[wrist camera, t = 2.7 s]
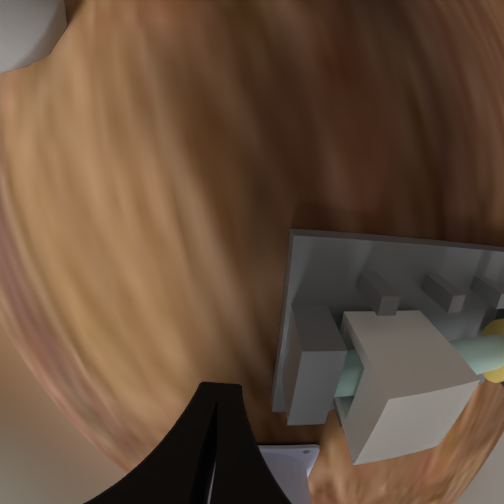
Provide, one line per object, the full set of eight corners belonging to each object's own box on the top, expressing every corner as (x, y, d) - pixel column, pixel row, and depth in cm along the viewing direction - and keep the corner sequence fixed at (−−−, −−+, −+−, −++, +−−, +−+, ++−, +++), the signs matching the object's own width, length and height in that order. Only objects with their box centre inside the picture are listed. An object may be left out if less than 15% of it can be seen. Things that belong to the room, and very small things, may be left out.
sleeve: (328, 377, 13) (353, 465, 8) (344, 311, 12) (388, 399, 7) (397, 371, 13) (438, 445, 8) (419, 310, 12) (480, 379, 7)
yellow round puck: (470, 359, 13) (499, 395, 10) (491, 308, 12) (528, 339, 9) (479, 357, 13) (508, 391, 10) (500, 307, 12) (537, 337, 9)
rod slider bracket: (271, 397, 16) (275, 469, 11) (290, 228, 13) (312, 273, 8) (475, 374, 16) (508, 416, 11) (521, 249, 13) (574, 277, 8)
